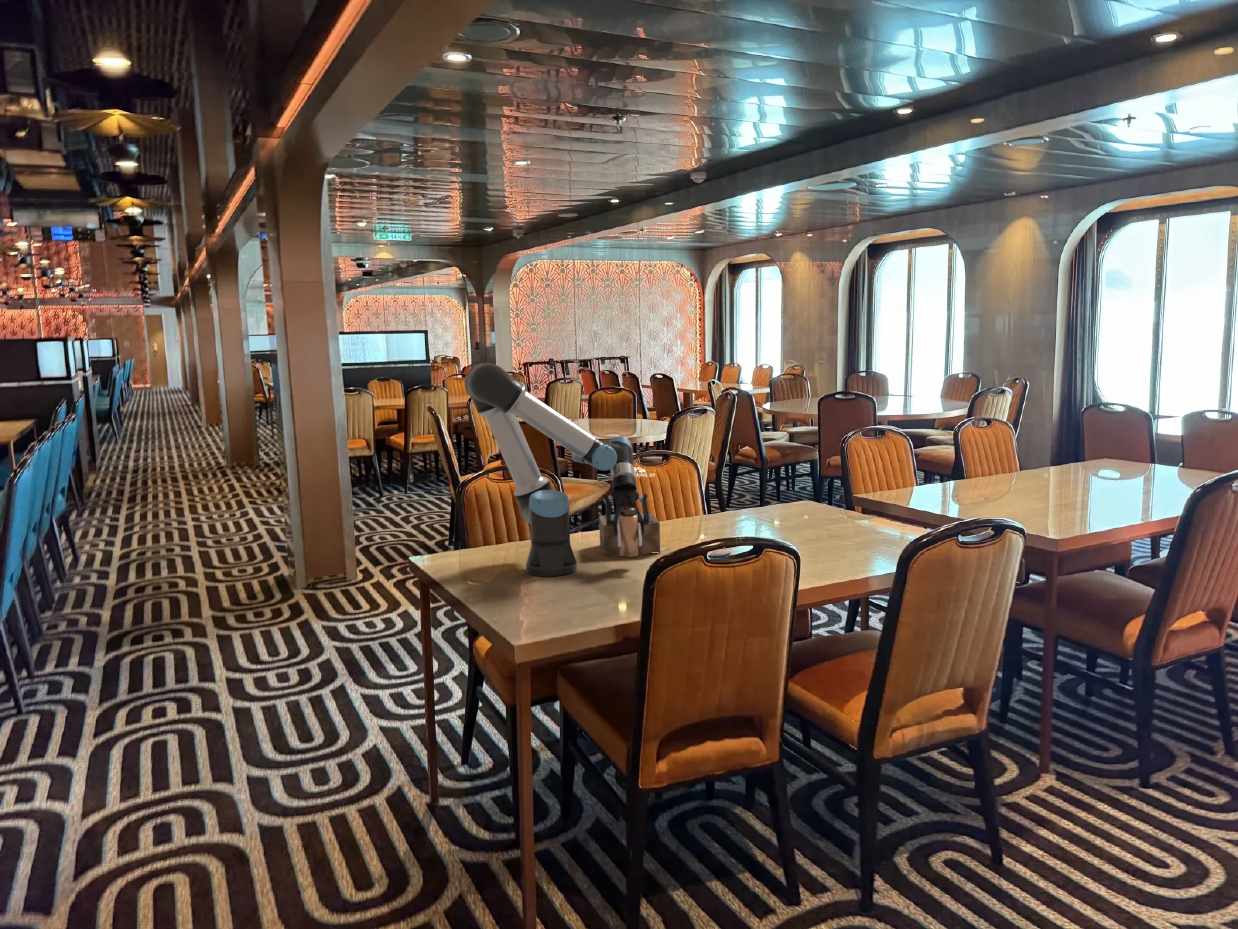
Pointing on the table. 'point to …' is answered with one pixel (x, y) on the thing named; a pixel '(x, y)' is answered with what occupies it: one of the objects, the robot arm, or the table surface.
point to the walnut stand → (648, 542)
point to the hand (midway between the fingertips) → (630, 543)
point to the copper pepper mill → (628, 532)
